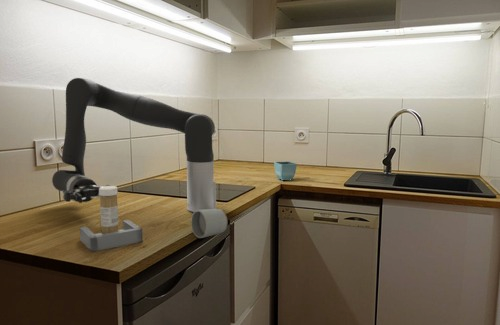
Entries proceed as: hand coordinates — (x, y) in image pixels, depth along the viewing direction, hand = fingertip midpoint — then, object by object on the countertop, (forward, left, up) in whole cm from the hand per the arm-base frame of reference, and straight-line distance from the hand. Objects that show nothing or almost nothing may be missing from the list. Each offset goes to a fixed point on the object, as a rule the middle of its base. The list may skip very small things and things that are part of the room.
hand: (96, 197), depth 111 cm
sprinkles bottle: (0, +11, -9) cm, 14 cm away
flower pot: (-100, -29, -10) cm, 105 cm away
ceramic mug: (-24, +22, -10) cm, 33 cm away
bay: (0, +12, -9) cm, 15 cm away
